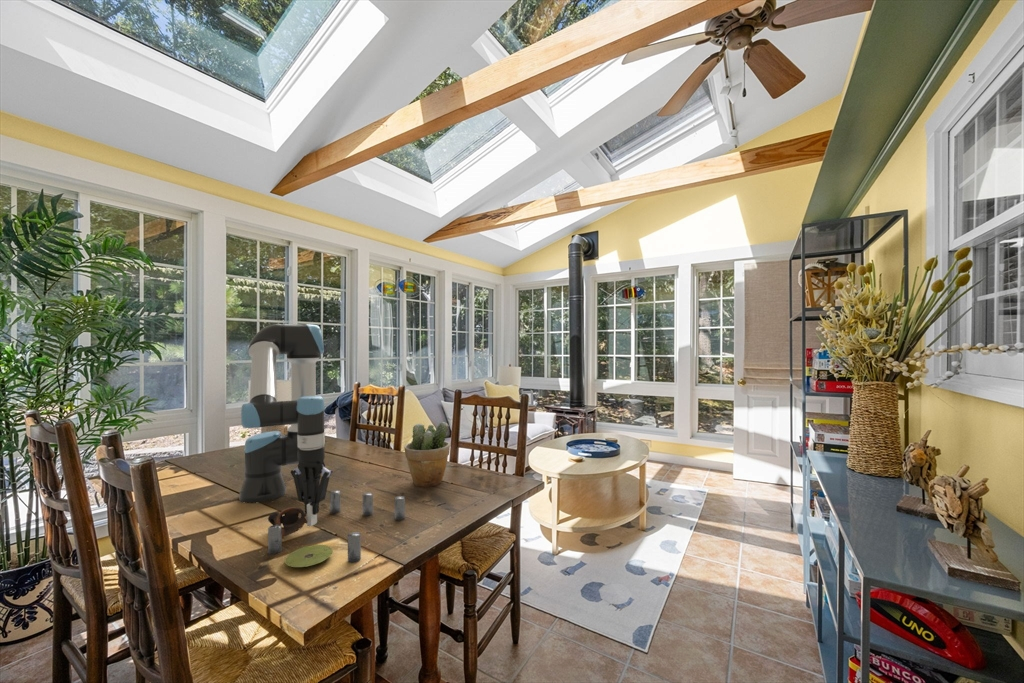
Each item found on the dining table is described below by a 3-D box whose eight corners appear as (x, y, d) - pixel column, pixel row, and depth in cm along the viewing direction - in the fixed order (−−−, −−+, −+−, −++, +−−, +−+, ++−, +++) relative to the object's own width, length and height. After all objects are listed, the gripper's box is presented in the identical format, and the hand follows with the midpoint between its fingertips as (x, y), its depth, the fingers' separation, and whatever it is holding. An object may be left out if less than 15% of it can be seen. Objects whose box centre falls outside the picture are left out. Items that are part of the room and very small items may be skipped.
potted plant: (404, 493, 158) (404, 427, 158) (404, 477, 176) (403, 418, 176) (452, 488, 163) (452, 424, 163) (447, 473, 181) (447, 416, 181)
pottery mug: (314, 524, 131) (313, 506, 127) (297, 551, 123) (295, 533, 119) (277, 516, 131) (275, 498, 127) (257, 542, 123) (255, 524, 119)
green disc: (330, 547, 116) (330, 540, 116) (334, 567, 106) (334, 559, 106) (285, 557, 111) (285, 550, 111) (284, 579, 101) (284, 571, 101)
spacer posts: (265, 555, 112) (265, 529, 112) (334, 510, 142) (334, 489, 142) (356, 565, 107) (356, 538, 107) (408, 516, 137) (407, 495, 137)
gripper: (283, 449, 124) (284, 528, 124) (322, 451, 122) (323, 531, 122) (300, 443, 132) (301, 517, 132) (337, 444, 129) (338, 520, 129)
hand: (312, 524), depth 127 cm, fingers closed
